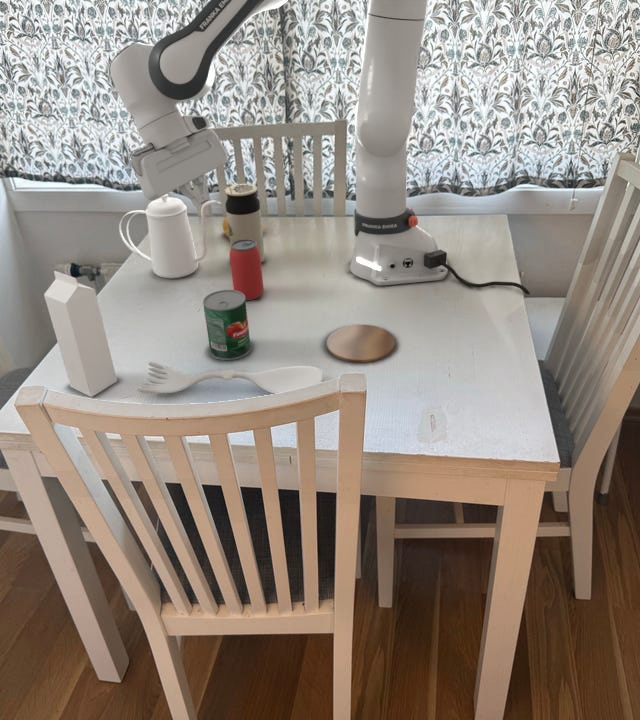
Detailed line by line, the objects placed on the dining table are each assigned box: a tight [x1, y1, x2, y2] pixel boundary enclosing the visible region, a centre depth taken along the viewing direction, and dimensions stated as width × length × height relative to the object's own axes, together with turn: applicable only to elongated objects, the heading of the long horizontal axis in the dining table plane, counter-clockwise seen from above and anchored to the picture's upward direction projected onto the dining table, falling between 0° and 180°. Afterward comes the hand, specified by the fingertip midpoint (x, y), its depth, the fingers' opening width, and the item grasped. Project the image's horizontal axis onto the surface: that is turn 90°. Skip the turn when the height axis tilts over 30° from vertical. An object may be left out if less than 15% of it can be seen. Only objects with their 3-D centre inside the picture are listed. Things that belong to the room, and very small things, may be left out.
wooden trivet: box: [326, 324, 396, 364], centre depth 130 cm, size 13×13×1 cm
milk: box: [43, 270, 118, 398], centre depth 117 cm, size 6×6×22 cm
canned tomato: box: [202, 289, 252, 361], centre depth 128 cm, size 8×8×11 cm
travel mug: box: [224, 183, 266, 263], centre depth 161 cm, size 8×8×18 cm
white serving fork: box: [136, 361, 325, 395], centre depth 119 cm, size 9×32×4 cm, turn 86°
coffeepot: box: [118, 193, 222, 279], centre depth 158 cm, size 11×25×19 cm, turn 84°
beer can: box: [229, 239, 265, 301], centre depth 147 cm, size 7×7×12 cm
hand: (202, 203), depth 131 cm, fingers closed
